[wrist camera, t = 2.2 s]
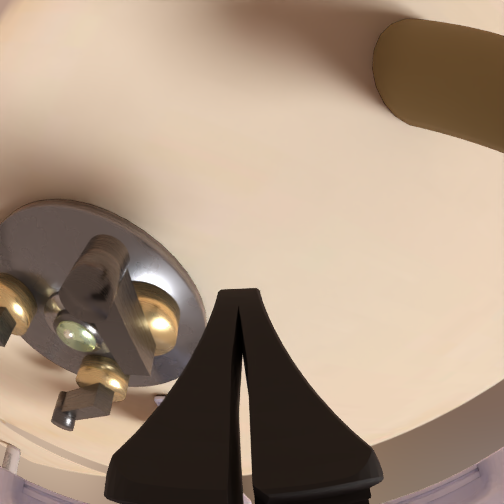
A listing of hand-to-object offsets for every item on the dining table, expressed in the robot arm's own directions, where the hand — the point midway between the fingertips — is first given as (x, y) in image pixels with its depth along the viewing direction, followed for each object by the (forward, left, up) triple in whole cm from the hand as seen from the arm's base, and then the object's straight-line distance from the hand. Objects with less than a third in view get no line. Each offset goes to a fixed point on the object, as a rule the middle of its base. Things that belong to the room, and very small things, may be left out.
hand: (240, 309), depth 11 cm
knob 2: (-3, +6, -5) cm, 8 cm away
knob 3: (-14, +14, -5) cm, 20 cm away
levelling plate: (-7, +12, -6) cm, 15 cm away
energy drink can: (-85, +89, -6) cm, 123 cm away
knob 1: (-4, +19, -5) cm, 20 cm away
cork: (+8, -9, -6) cm, 14 cm away
